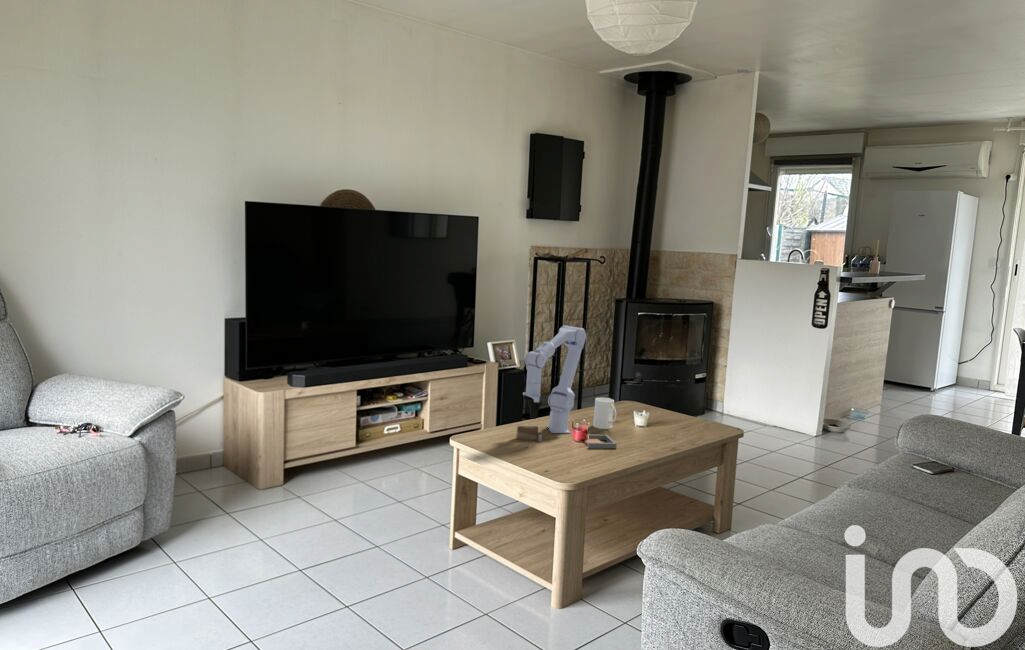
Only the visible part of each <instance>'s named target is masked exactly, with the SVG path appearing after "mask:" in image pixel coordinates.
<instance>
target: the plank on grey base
mask: <svg viewBox="0 0 1025 650" xmlns="http://www.w3.org/2000/svg"><path fill="white" fill-rule="evenodd" d="M516 439H517V440H518V439H534V440H533V441H538V442H539V443H542V439H543V436H542V434H541V433H540V432H539V427H538V426H537V425H517V428H516ZM535 439H536V440H535ZM537 439H538V440H537Z"/></svg>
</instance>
